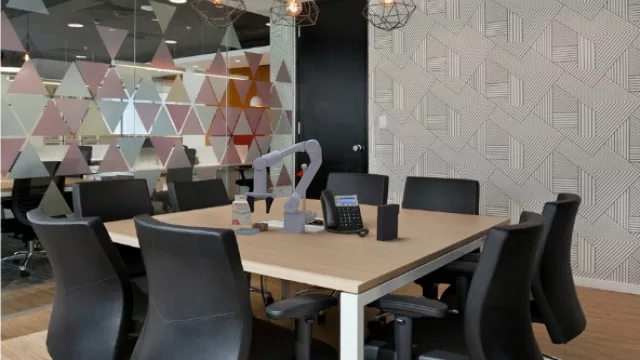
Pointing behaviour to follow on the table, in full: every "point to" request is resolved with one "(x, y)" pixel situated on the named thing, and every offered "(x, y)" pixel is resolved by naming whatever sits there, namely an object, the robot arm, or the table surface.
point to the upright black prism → (387, 221)
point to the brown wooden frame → (260, 226)
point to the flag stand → (309, 215)
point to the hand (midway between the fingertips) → (260, 213)
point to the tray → (252, 230)
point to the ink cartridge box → (241, 211)
